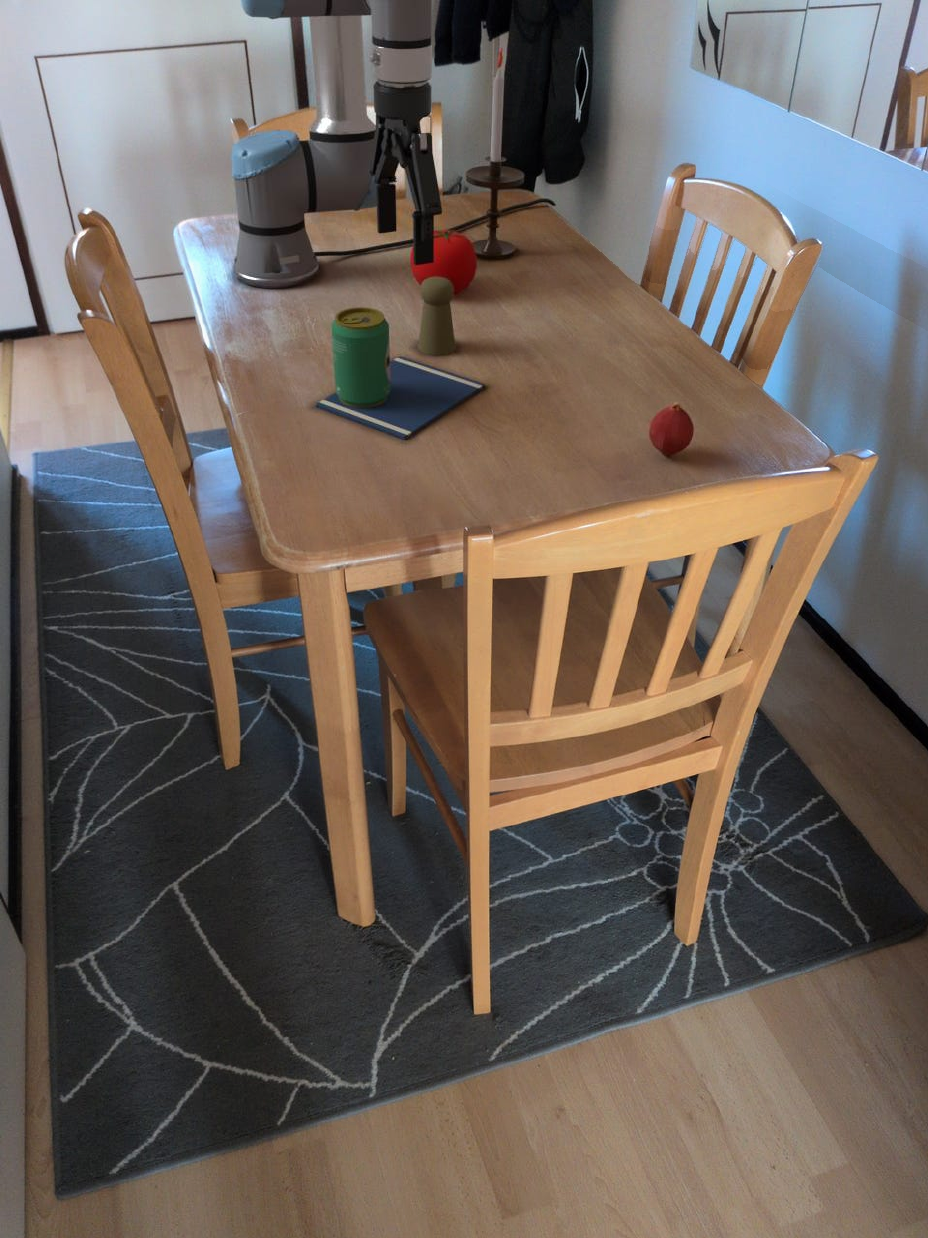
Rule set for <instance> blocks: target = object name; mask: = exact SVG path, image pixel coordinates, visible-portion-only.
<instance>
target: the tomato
mask: <svg viewBox="0 0 928 1238" xmlns="http://www.w3.org/2000/svg"><path fill="white" fill-rule="evenodd" d="M455 230H456V229H455ZM472 243H473V242H472V241H471V239H469V238H468V237H467V236H466V235H464V234H462V233H460V232H458V231H454V230H451V231H450V230H447V229H440V230H434V263H428V264H421V265H415V264H414V259H413V247H412V248H411V250H410V255H409V263H410V270H411V273H412V275H413V278H414V280H415V282H417V283H418V285H419V286H420V287H421V284H422V282H423V281H424V280H425V279H427V278H430V277H443V278H446V279H448V280H450V281H451V283H452V285H453V288H454V294H453V296H454V295H458V294H460V293H462V292H463V291H465V290H466V289H468V287H470V285H471V284H472V282H473V281H474V278H475V275H476V272H477V267H478V258H476V253H475V250H474V247H473V245H472Z"/></svg>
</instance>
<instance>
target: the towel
mask: <svg viewBox="0 0 928 1238" xmlns="http://www.w3.org/2000/svg"><path fill="white" fill-rule="evenodd" d="M390 380H391V391H390V393H389V395H388V398H387V400H386V401H385V402H383V403H382V404H380V405H377V406H374V407H367V408H358V407H352V406H348V405H346V404H344V403H343V402H341V400H340V399H339V396H338V395H337V394H336V392H334V393H332V394H331V395H329V396H327V397H326V398H323V399H322V400H320V401H318V402H317V403H315V408H318V409H320V410H323V411H325V412H327V413H331V414H334V415H336V416H339V417H342V418H344V419H347V420H349V421H353V422H355V423H358V424H360V425H363V426H366V427H368V428H370V429H374V430H376V431H379V432H382V433H385V434H387V435H390V436H392V437H395V438H398V439H399V440H403V441H405V440H407V439H408V438H410V437H411V436H413V435H414V434H416V433H417V432H419V431H420V430H422V429H423V428H425V427H426V426H428V425H430V424H431V423H432V422H434V421H435V420H438V419H439V418H440V417H441V416H443V415H445V414H446V413H447V412H449V411H450V410H452V409H454V408H455V407H457V406H459V405H460V404H462V403H463V402H464V401H466V400H467V399H469V398H470V397H472V396H474V395H475V394H477V393H478V392H480V391H481V390H483V389H484V388H485V387H486V384H485V383H482V382H479V381H477V380H473V379H470V378H468V377H464V376H461V375H459V374H455V373H453V372H449V371H447V370H443V369H441V368H437V367H434V366H431V365H428V364H425V363H422V362H419V361H416V360H413V359H410V358H407V357H404V356H401V355H400V356H398V357H396V358H394V359H392V360H390Z"/></svg>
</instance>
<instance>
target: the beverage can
mask: <svg viewBox="0 0 928 1238" xmlns="http://www.w3.org/2000/svg"><path fill="white" fill-rule="evenodd" d="M330 328H331V329H330V330H331V342H332V344H331V345H332V357H333V372H334V374H333V375H334V388H335V393H336V394H337V395H338V396H339V399H340V400H341V402H343V403H344V404H346V405H348V406H352V407H358V408H367V407H374V406H377V405H380V404H382V403H383V402H385V401H386V400H387V398H388V395H389V393H390V391H391V380H390V362H391V348H390V347H391V346H390V324H389V322H388V321H387V319H386V318H385V315H384V313H383V312H382V311H380V310H378V309H376V308H371V307H365V306H364V307H363V306H362V307H361V306H357V307H350V308H349V307H348V308H345V309H342V310H340V311H338V312H337V313H336V314H335V315H334V320H333V321H332V323H331V327H330Z"/></svg>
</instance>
